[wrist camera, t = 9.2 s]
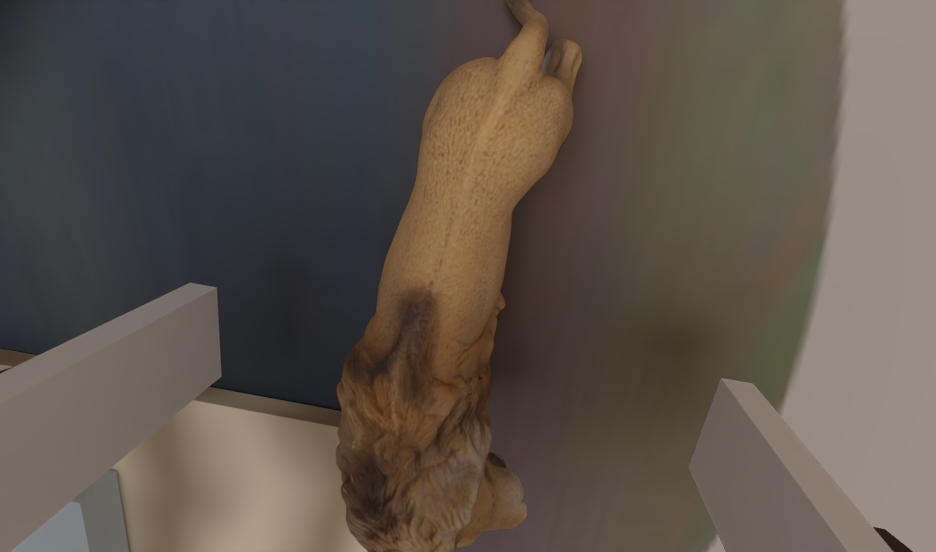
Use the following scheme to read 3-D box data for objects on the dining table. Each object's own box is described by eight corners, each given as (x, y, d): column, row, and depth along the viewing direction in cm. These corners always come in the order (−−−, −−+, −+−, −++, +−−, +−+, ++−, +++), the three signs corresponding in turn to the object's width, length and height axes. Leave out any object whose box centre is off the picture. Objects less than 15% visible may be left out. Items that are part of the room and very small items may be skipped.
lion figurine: (520, 404, 18) (518, 647, 10) (389, 382, 19) (281, 600, 10) (597, -21, 14) (723, -249, 5) (418, -39, 14) (255, -282, 5)
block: (-48, 437, 21) (-10, 564, 24) (-100, 466, 19) (-53, 600, 22) (118, 470, 21) (137, 596, 23) (79, 503, 19) (106, 635, 22)
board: (7, 566, 25) (-12, 583, 24) (-57, 338, 21) (-85, 348, 20) (365, 642, 24) (358, 664, 23) (383, 418, 19) (376, 434, 18)
